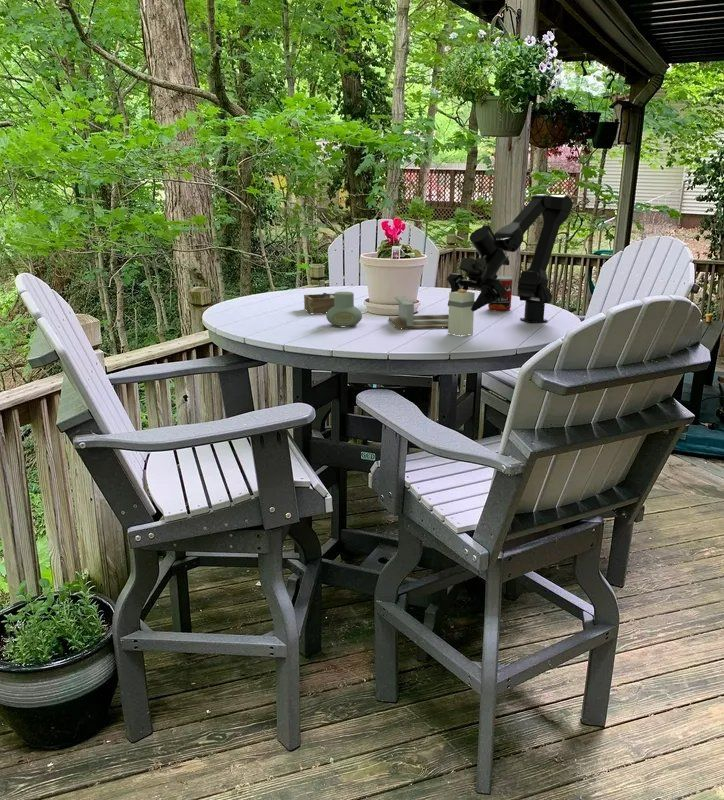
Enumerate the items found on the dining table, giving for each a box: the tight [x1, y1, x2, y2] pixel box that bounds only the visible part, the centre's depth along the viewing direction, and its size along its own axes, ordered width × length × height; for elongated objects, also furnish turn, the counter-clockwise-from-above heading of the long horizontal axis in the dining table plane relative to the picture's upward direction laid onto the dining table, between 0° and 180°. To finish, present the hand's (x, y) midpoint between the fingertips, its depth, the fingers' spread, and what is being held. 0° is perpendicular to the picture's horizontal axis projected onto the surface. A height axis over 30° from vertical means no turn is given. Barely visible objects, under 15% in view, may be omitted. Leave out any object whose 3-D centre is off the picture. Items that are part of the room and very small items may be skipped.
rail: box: [394, 296, 415, 326], centre depth 211 cm, size 3×15×7 cm, turn 7°
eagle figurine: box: [317, 292, 334, 298], centre depth 235 cm, size 8×7×9 cm
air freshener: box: [325, 291, 363, 327], centre depth 210 cm, size 11×8×10 cm
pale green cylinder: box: [447, 289, 476, 336], centre depth 196 cm, size 5×5×13 cm
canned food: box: [487, 275, 513, 312], centre depth 237 cm, size 8×8×11 cm
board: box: [388, 313, 449, 330], centre depth 213 cm, size 22×16×2 cm
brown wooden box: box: [303, 293, 335, 314], centre depth 235 cm, size 10×13×5 cm
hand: (460, 308), depth 195 cm, fingers open, 9 cm apart
